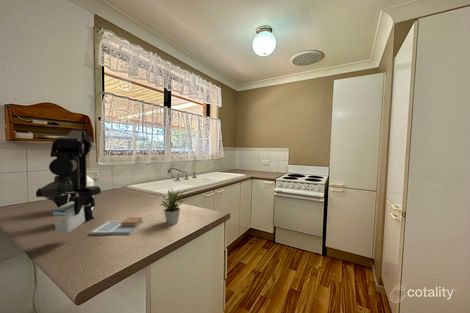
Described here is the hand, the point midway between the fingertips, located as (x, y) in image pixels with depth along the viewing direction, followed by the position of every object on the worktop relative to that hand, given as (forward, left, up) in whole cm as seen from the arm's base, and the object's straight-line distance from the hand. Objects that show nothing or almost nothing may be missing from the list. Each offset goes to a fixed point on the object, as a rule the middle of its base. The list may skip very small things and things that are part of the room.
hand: (70, 214), depth 68 cm
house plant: (+33, +18, -11) cm, 39 cm away
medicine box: (0, 0, -5) cm, 5 cm away
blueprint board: (+10, +12, -10) cm, 19 cm away
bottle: (-25, +37, -11) cm, 46 cm away
